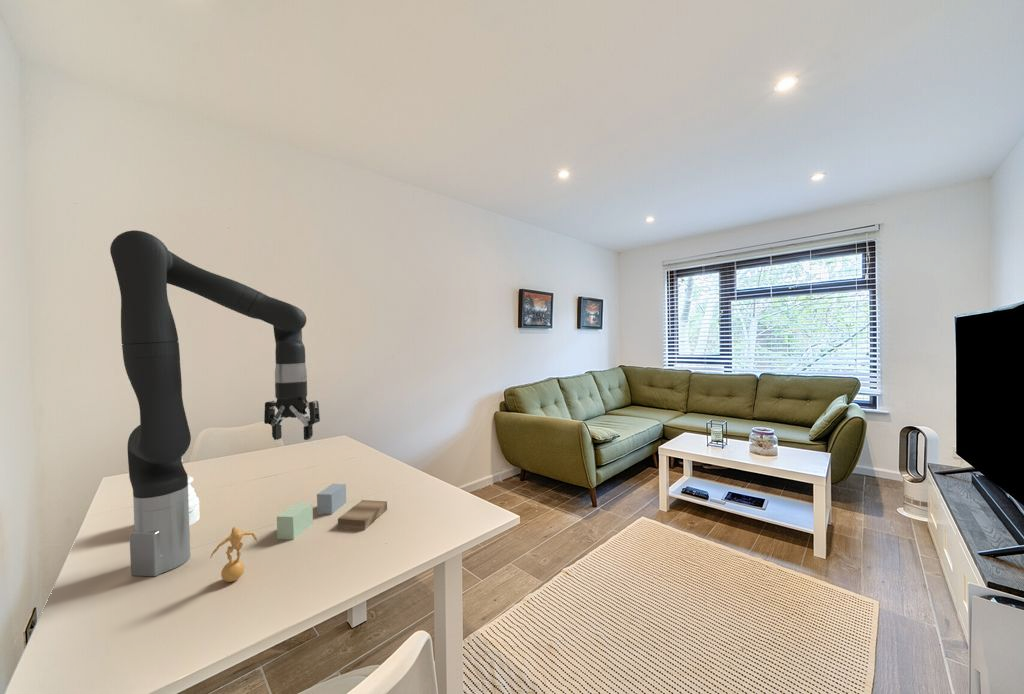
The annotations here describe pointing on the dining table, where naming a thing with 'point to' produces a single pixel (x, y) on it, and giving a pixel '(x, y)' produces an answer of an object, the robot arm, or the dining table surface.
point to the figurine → (233, 567)
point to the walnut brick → (362, 515)
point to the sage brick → (294, 521)
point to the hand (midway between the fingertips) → (292, 439)
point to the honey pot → (192, 503)
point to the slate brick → (331, 499)
